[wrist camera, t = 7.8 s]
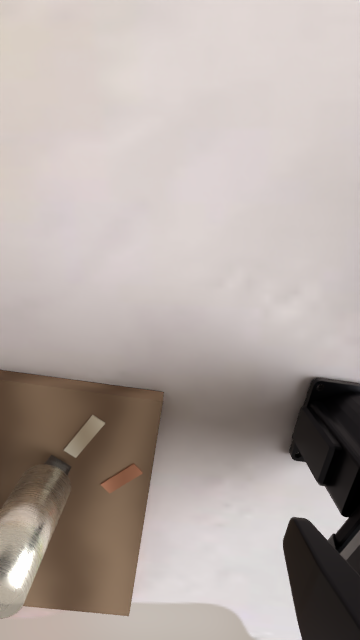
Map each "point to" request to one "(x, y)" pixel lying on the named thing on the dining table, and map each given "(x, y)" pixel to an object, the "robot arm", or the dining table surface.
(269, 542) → the dining table surface
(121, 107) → the dining table surface
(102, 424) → the board
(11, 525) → the lever
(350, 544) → the robot arm
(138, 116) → the dining table surface
